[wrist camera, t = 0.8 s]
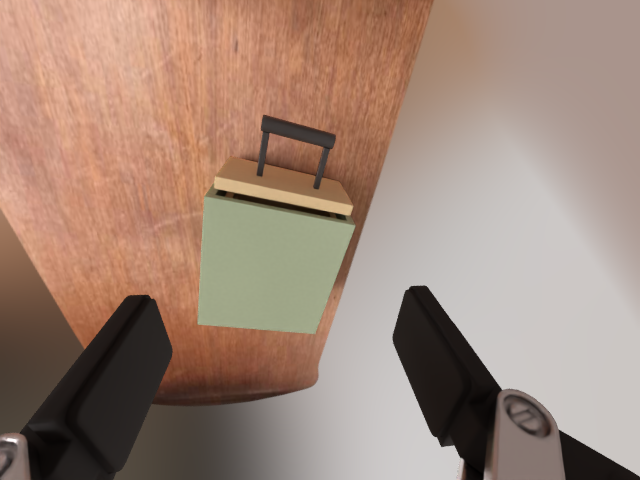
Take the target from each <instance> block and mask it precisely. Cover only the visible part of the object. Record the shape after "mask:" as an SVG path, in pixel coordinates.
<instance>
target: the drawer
mask: <svg viewBox="0 0 640 480" xmlns="http://www.w3.org/2000/svg"><path fill="white" fill-rule="evenodd" d="M261 131H263V135H262V141H261V148H260V154H259V161H258V162H254V161H250V160H245V159H241V158H237V157H233V156H230V157H229V159H228V160H227V161H226V163H225V164H224V165H223V167H222V168H221V169H220V171H219V172H218V173H217V175H216V176H215V184H214V188H215V189H219V190H224V191H227V193H226V195H225V197H228V198H233V199H238V200H244V201H249V202H254V203H259V204H264V205H269V206H274V207H279V208H284V209H289V210H294V211H300V212H305V213H310V214H315V215H320V216H325V217H330V218H335V219H337V218H336V215H335V213H338V214H343V215H348V216H350V215H351V212H352V209H353V204H352V202H351V200H350V199H349V197H348V195H347V194H346V192H345V190H344V188H343V187H342V185H341V183H340V182H339V181H335V180H331V179H327V178H322V176H323V172H324V169H325V165H326V162H327V158H328V154H329V151H330V149H332V148H333V146H334V143H335V139H336V135H335V134H332V133H328V132H325V131H321V130H317V129H314V128H310V127H307V126H303V125H299V124H296V123H292V122H289V121H285V120H281V119H278V118H274V117H271V116H267V115H263V118H262V125H261ZM269 133H272V134H276V135H280V136H284V137H287V138H291V139H295V140H299V141H303V142H306V143H310V144H314V145H318V146H322V147H323V151H322V155H321V158H320V162H319V166H318V170H317V173H316V176H314V175H310V174H305V173H301V172H297V171H293V170H288V169H284V168H280V167H275V166H271V165H267V164H265V158H266V152H267V146H268V139H269Z"/></svg>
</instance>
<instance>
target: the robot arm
mask: <svg viewBox="0 0 640 480" xmlns="http://www.w3.org/2000/svg"><path fill="white" fill-rule="evenodd" d="M393 344H394V346H395V348H396V351H397V353H398V356H399V358H400V361H401V363H402V365H403V368H404V370H405V372H406V375H407V377H408V379H409V382H410V384H411V387H412V389H413V391H414V394H415V396H416V399H417V401H418V403H419V406H420V408H421V410H422V413H423V415H424V418H425V420H426V422H427V425H428V427H429V429H430V431H431V433H432V435H433V436H434V437H437V438H438V440H439V443H440V445H441V447H444V446H453V445H455V448H456V449H457V452H458V454H459V456H460V462H459V468H458V475H457V480H640V477H639V476H638V475H636V474H635V473H633V472H631V471H630V470H628V469H626V468H624V467H623V466H621V465H619V464H617V463H615V462H614V461H612V460H610V459H609V458H607V457H605V456H604V455H602V454H600V453H598V452H596V451H595V450H593V449H591V448H590V447H588V446H586V445H585V444H583V443H581V442H579V441H577V440H576V439H574V438H572V437H571V436H569V435H567V434H565V433H564V432H562V431H560V430H559V429H558V427H557V424H556V422H555V420H554V418H553V417H552V415H551V414H550V412H549V411H548V410H547V409H546V408H545V407H544V406H543V405H542V404H541V403H540V402H538V401H537V400H536V399H535V398H533V397H531V396H530V395H528V394H526V393H524V392H521V391H519V390H514V389H505V390H502V389H501V388H500V386H499V385H498V384H497V382H496V381H495V379H494V378H493V377H492V375H491V374H490V372H489V371H488V370H487V368H486V367H485V365H484V364H483V363H482V361H481V360H480V359H479V357H478V356H477V354H476V353H475V352H474V350H473V349H472V347H471V346H470V345H469V343H468V342H467V340H466V339H465V338H464V336H463V335H462V333H461V332H460V331H459V329H458V328H457V327H456V325H455V324H454V323H453V322H452V321H451V319H450V318H449V316H448V315H447V313H446V312H445V311H444V309H443V308H442V307H441V305H440V304H439V302H438V301H437V300H436V298H435V297H434V295H433V294H432V293H431V291H430V290H429V288H428V287H427V286H411V287H410V288H409V290H406V291H405V294H404V297H403V301H402V304H401V308H400V311H399V315H398V319H397V322H396V326H395V329H394V333H393ZM171 357H172V346H171V343H170V340H169V337H168V335H167V332H166V329H165V326H164V323H163V321H162V318H161V315H160V312H159V309H158V306H157V304H156V301H155V300H154V299H151V298H150V296H149V295H130V296H127V297H126V298H125V299H124V301H123V302H122V303H121V304H120V306H119V307H118V308H117V310H116V311H115V312H114V313H113V315H112V316H111V317H110V318H109V320H108V321H107V322H106V324H105V325H104V326H103V327H102V329H101V330H100V331H99V333H98V334H97V335H96V336H95V338H94V339H93V340H92V341H91V343H90V344H89V345H88V346H87V348H86V349H85V350H84V352H83V353H82V354H81V355H80V357H79V358H78V359H77V360H76V362H75V363H74V364H73V365H72V367H71V368H70V369H69V371H68V372H67V373H66V375H65V376H64V377H63V378H62V379H61V381H60V382H59V383H58V385H57V386H56V387H55V388H54V390H53V391H52V392H51V394H50V395H49V396H48V397H47V399H46V400H45V401H44V402H43V404H42V405H41V406H40V408H39V409H38V410H37V411H36V413H35V414H34V415H33V416H32V418H31V419H30V420H29V422H28V423H27V424H26V425H25V427H24V428H23V429H22V431H21V432H20V433H6V434H2V435H0V480H113V479H114V476H115V474H116V472H118V471H120V470H121V469H122V468H123V466H124V465H125V463H126V461H127V458H128V456H129V454H130V452H131V449H132V447H133V445H134V443H135V440H136V438H137V436H138V433H139V431H140V429H141V426H142V424H143V422H144V420H145V417H146V415H147V412H148V410H149V408H150V406H151V403H152V401H153V399H154V397H155V394H156V392H157V390H158V387H159V385H160V383H161V381H162V378H163V376H164V374H165V371H166V369H167V367H168V364H169V362H170V360H171Z"/></svg>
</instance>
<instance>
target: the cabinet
mask: <svg viewBox="0 0 640 480" xmlns="http://www.w3.org/2000/svg"><path fill="white" fill-rule="evenodd" d="M214 184H215V182H214ZM214 184H213V185H212V186H211V188H210V189H209V191H208V192H207V193H206V195H205V196H204V211H203V230H202V248H201V267H200V286H199V304H198V323H197V324H200V325H212V326H224V327H236V328H248V329H260V330H272V331H284V332H296V333H309V334H315V333H316V330H317V327H318V325H319V322H320V319H321V317H322V314H323V311H324V309H325V306H326V303H327V301H328V298H329V295H330V293H331V290H332V287H333V285H334V282H335V279H336V277H337V274H338V271H339V269H340V266H341V263H342V261H343V258H344V255H345V253H346V250H347V248H348V245H349V242H350V240H351V237H352V234H353V232H354V229H355V226H356V225H355V223H354V221H353V219H352V217H351V215H350V216H348V215H343V214H338V213H335V215H336V218H337V219H335V218H330V217H325V216H320V215H315V214H310V213H305V212H300V211H294V210H289V209H284V208H279V207H274V206H269V205H264V204H259V203H254V202H249V201H244V200H238V199H233V198H228V197H225V195H226V193H227V191H224V190H219V189H215V188H214Z"/></svg>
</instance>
